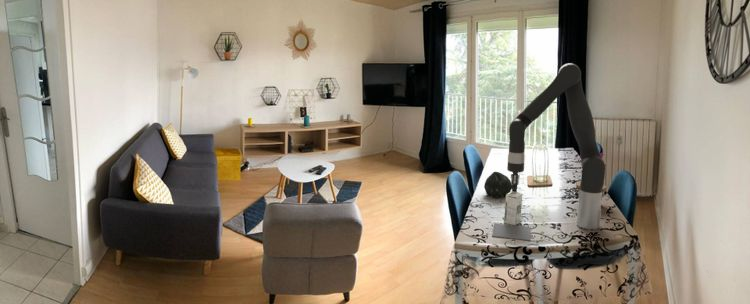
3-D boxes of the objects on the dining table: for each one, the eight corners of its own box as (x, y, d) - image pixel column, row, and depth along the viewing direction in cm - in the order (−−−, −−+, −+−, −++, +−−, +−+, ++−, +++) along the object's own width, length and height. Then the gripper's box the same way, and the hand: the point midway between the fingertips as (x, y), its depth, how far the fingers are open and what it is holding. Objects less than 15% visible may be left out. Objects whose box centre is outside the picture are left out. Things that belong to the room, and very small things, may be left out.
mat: (530, 227, 214) (530, 226, 214) (530, 240, 201) (530, 239, 200) (494, 224, 219) (494, 223, 219) (492, 236, 205) (492, 235, 205)
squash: (515, 183, 262) (498, 163, 261) (518, 192, 248) (499, 171, 247) (495, 198, 267) (477, 178, 266) (496, 208, 253) (478, 187, 252)
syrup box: (508, 219, 225) (510, 190, 221) (520, 222, 221) (522, 193, 218) (503, 223, 220) (505, 193, 217) (516, 226, 217) (517, 196, 213)
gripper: (524, 165, 213) (522, 201, 217) (524, 158, 225) (522, 192, 229) (507, 164, 215) (505, 199, 219) (508, 157, 227) (506, 191, 232)
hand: (514, 196), depth 224 cm, fingers closed
